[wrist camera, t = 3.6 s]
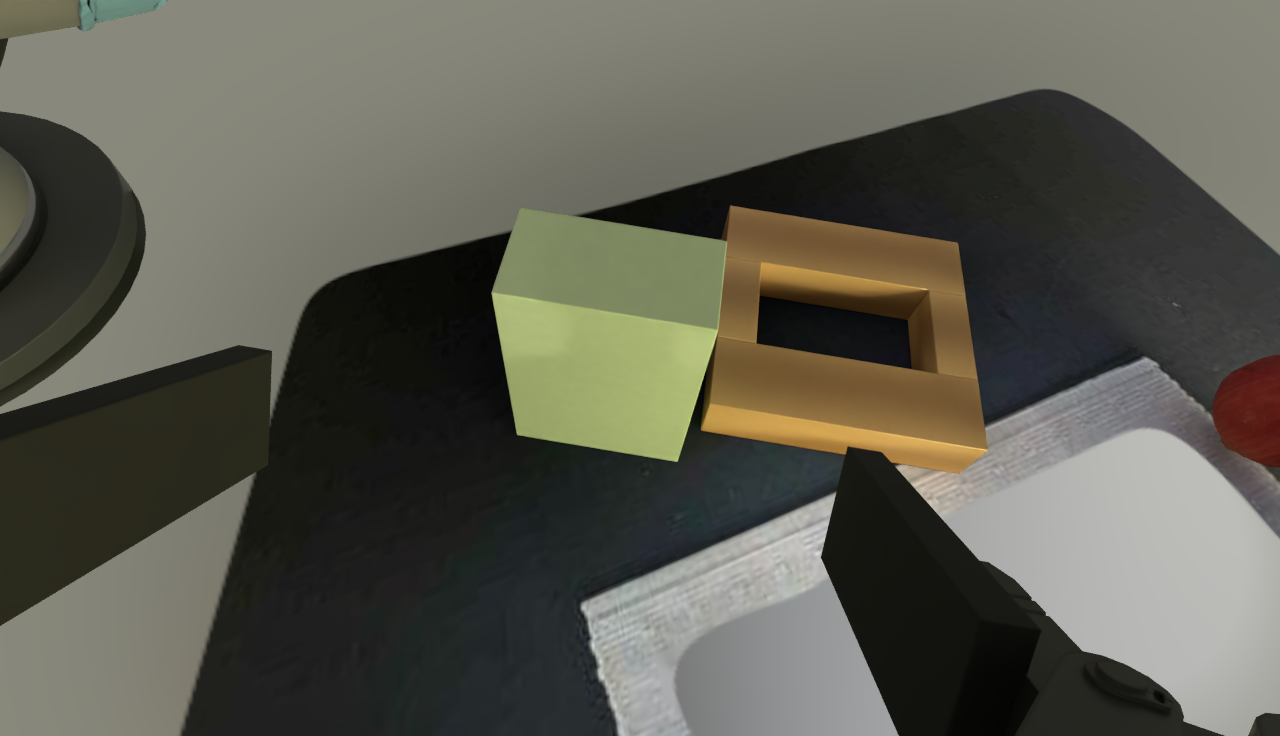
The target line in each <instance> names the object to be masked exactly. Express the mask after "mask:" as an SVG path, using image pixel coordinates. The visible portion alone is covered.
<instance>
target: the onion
mask: <svg viewBox="0 0 1280 736" xmlns="http://www.w3.org/2000/svg"><path fill="white" fill-rule="evenodd" d="M1212 409H1213V419H1214V424H1215V427H1216V429H1217V431H1218V433H1219V435H1220V438H1221V442H1222V443H1223V445H1224V446H1225V447H1226V448H1227V449H1229V450H1232V451H1235V452H1237V453H1239V454H1240V455H1241V456H1243V457H1246V458H1248V459H1250V460H1253V461H1255V462H1257V463H1260V464H1263V465H1266V466H1269V467H1280V355H1274V356H1270V357H1266V358H1262V359H1259V360H1257V361H1255V362H1252V363H1250V364H1248V365H1246V366H1243V367H1241V368H1239V369H1237V370H1235V371H1233V372H1231V373H1230V374H1229V375H1228V376H1227V377H1226V378H1225V379H1224V380H1223V381H1222V382H1221V384H1220V386H1219V388H1218V391H1217V393H1216V395H1215V398H1214V401H1213V405H1212Z"/></svg>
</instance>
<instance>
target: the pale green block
mask: <svg viewBox="0 0 1280 736" xmlns="http://www.w3.org/2000/svg"><path fill="white" fill-rule="evenodd" d="M726 250H727V241H723V240H717V239H711V238H704V237H698V236H692V235H686V234H680V233H674V232H668V231H662V230H656V229H650V228H643V227H637V226H631V225H625V224H619V223H613V222H607V221H601V220H595V219H589V218H583V217H576V216H570V215H564V214H558V213H552V212H546V211H539V210H534V209H527V208H520V210H519V213H518V216H517V219H516V222H515V225H514V228H513V231H512V234H511V236H510V239H509V242H508V245H507V248H506V251H505V254H504V257H503V260H502V263H501V266H500V269H499V272H498V275H497V278H496V281H495V284H494V287H493V290H492V298H493V304H494V309H495V315H496V321H497V326H498V332H499V337H500V343H501V348H502V354H503V360H504V365H505V371H506V376H507V382H508V387H509V393H510V399H511V404H512V410H513V415H514V421H515V426H516V432H517V435H520V436H526V437H532V438H538V439H544V440H550V441H556V442H562V443H568V444H574V445H580V446H586V447H592V448H598V449H604V450H610V451H616V452H622V453H628V454H634V455H640V456H645V457H651V458H657V459H663V460H669V461H675V462H677V461H678V459H679V455H680V452H681V449H682V446H683V442H684V439H685V436H686V433H687V429H688V426H689V423H690V420H691V417H692V413H693V410H694V407H695V404H696V400H697V397H698V394H699V391H700V388H701V384H702V381H703V378H704V375H705V371H706V368H707V365H708V362H709V358H710V355H711V352H712V349H713V346H714V342H715V339H716V336H717V333H718V328H719V318H720V309H721V299H722V289H723V279H724V270H725V260H726Z"/></svg>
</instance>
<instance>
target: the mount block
mask: <svg viewBox="0 0 1280 736" xmlns="http://www.w3.org/2000/svg"><path fill="white" fill-rule="evenodd" d="M721 240H723V241H727V250H726V260H725V270H724V279H723V289H722V299H721V309H720V318H719V328H718V333H717V336H716V339H715V342H714V346H713V349H712V352H711V355H710V358H709V362H708V366H707V375H706V384H705V393H704V402H703V411H702V420H701V431H707V432H713V433H719V434H725V435H731V436H737V437H743V438H749V439H755V440H761V441H767V442H773V443H779V444H785V445H791V446H797V447H803V448H809V449H815V450H821V451H827V452H833V453H839V454H845V455H846V451H847V447H848V446H849V447H855V448H861V449H867V450H873V451H879V452H882V453H883V454H884V455H885V456H886V457H887V458H888V460H889V461H890V462H892V463H898V464H904V465H910V466H916V467H922V468H928V469H934V470H940V471H946V472H952V473H961V472H962V471H963V470H964V469H965V468H967V467H968V466H969V465H970V464H972V463H973V462H974V461H975V460H977V459H978V458H979V457H980V456H982V455H983V454H984V453H985V452H987V451H988V447H987V440H986V433H985V426H984V420H983V413H982V406H981V399H980V392H979V385H978V380H977V373H976V366H975V359H974V352H973V345H972V338H971V331H970V324H969V317H968V311H967V304H966V297H965V288H964V282H963V275H962V268H961V261H960V254H959V247H958V243H956V242H950V241H944V240H937V239H931V238H925V237H919V236H913V235H907V234H901V233H895V232H888V231H882V230H876V229H870V228H864V227H858V226H852V225H846V224H839V223H833V222H827V221H821V220H815V219H809V218H803V217H797V216H790V215H784V214H778V213H772V212H766V211H760V210H754V209H748V208H742V207H735V206H730V208H729V212H728V216H727V220H726V223H725V227H724V231H723V235H722V239H721ZM759 296H765V297H772V298H778V299H784V300H790V301H796V302H802V303H808V304H814V305H820V306H826V307H832V308H838V309H844V310H850V311H856V312H863V313H869V314H875V315H881V316H887V317H893V318H899V319H905V320H908V331H909V342H910V354H911V366H912V369H907V368H901V367H895V366H889V365H883V364H877V363H871V362H865V361H859V360H853V359H846V358H840V357H834V356H828V355H822V354H816V353H810V352H804V351H798V350H792V349H786V348H780V347H774V346H768V345H762V344H756V340H757V325H758V309H759Z"/></svg>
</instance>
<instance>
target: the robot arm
mask: <svg viewBox="0 0 1280 736" xmlns="http://www.w3.org/2000/svg"><path fill="white" fill-rule="evenodd" d="M167 1H168V0H0V66H1V63H2V60H3V57H4V53H5V50H6V46H7V42H8V38H10V37H16V36H22V35H28V34H34V33H40V32H46V31H52V30H58V29H63V28H70V27H76V26H77V27H78V28H79V29H80V30H81V31H88V30H90V29H92V28H93V27H94V26H95V24H96V23H100V22H104V21H109V20H113V19H118V18H123V17H127V16H132V15H137V14H141V13H146V12H150V11H153V10H156V9H157V8H159V7H161V6H163V5H164V4H165V3H166V2H167ZM46 221H47V205H46V200H45V197H44V194H43V192H42V190H41V188H40V186H39V185H38V184H37V182H36V181H35V180H34V179H33V177H32V176H31V175H30V174H29V173H28V172H27V171H26V170H25V169H24V168H23V166H22V165H21V164H20V163H19V162H18V161H17V160H16V159H15V158H14V157H13V156H12V155H11V154H10V153H8V152H7V151H5V150H4V149H3V148H1V147H0V292H1V291H2V290H3V289H4V288H5V287H6V286H7V285H8V284H9V283H11V282H12V281H13V280H14V279H15V277H16V276H17V275H18V274H19V273H20V272H21V271H22V270H23V268H24V267H25V266H26V264H27V263H28V262H29V260H30V259H31V258H32V256H33V254H34V253H35V251H36V249H37V248H38V246H39V243H40V241H41V239H42V237H43V234H44V230H45V227H46ZM271 363H272V351H269V350H263V349H258V348H252V347H246V346H240V345H239V346H235V347H231V348H228V349H224V350H221V351H218V352H214V353H211V354H207V355H204V356H200V357H197V358H193V359H190V360H186V361H183V362H180V363H176V364H172V365H169V366H165V367H162V368H159V369H155V370H152V371H148V372H145V373H141V374H138V375H134V376H131V377H127V378H124V379H121V380H117V381H113V382H110V383H107V384H103V385H100V386H96V387H93V388H89V389H86V390H82V391H79V392H75V393H72V394H68V395H65V396H62V397H58V398H54V399H51V400H48V401H44V402H41V403H37V404H34V405H30V406H27V407H23V408H20V409H17V410H13V411H9V412H6V413H2V414H0V626H1V625H2V624H4V623H6V622H7V621H9V620H11V619H12V618H14V617H16V616H17V615H19V614H21V613H22V612H24V611H26V610H27V609H29V608H31V607H32V606H34V605H35V604H37V603H39V602H41V601H42V600H44V599H46V598H47V597H49V596H50V595H52V594H54V593H56V592H57V591H58V590H60V589H62V588H64V587H65V586H67V585H69V584H70V583H72V582H74V581H75V580H77V579H79V578H80V577H82V576H84V575H85V574H87V573H89V572H90V571H92V570H94V569H95V568H97V567H99V566H100V565H102V564H104V563H105V562H107V561H108V560H110V559H112V558H113V557H115V556H117V555H119V554H120V553H122V552H124V551H125V550H127V549H129V548H130V547H132V546H134V545H135V544H137V543H138V542H140V541H142V540H143V539H145V538H147V537H148V536H150V535H152V534H153V533H155V532H157V531H158V530H160V529H162V528H163V527H165V526H167V525H168V524H170V523H172V522H173V521H175V520H176V519H178V518H180V517H182V516H183V515H185V514H186V513H188V512H190V511H191V510H193V509H195V508H197V507H198V506H200V505H201V504H203V503H205V502H207V501H208V500H210V499H211V498H213V497H215V496H216V495H218V494H220V493H221V492H223V491H225V490H226V489H228V488H230V487H231V486H233V485H235V484H236V483H238V482H239V481H241V480H243V479H245V478H246V477H248V476H250V475H251V474H253V473H255V472H256V471H258V470H260V469H261V468H263V467H265V466H266V465H268V450H269V421H270V392H271ZM821 559H822V561H823V563H824V565H825V568H826V570H827V572H828V575H829V577H830V579H831V581H832V584H833V586H834V588H835V591H836V593H837V595H838V598H839V600H840V602H841V604H842V607H843V609H844V611H845V613H846V616H847V618H848V620H849V623H850V625H851V627H852V630H853V632H854V634H855V636H856V639H857V641H858V643H859V646H860V648H861V650H862V652H863V655H864V657H865V659H866V661H867V664H868V666H869V668H870V671H871V673H872V675H873V677H874V680H875V682H876V684H877V687H878V689H879V691H880V694H881V696H882V698H883V701H884V703H885V705H886V707H887V710H888V712H889V714H890V717H891V719H892V721H893V723H894V726H895V728H896V730H897V733H898V735H899V736H1224V735H1221V734H1218V733H1215V732H1212V731H1209V730H1206V729H1203V728H1200V727H1197V726H1195V725H1192V724H1189V723H1186V722H1184V721H1183V718H1184V716H1183V712H1182V709H1181V706H1180V704H1179V703H1178V702H1177V701H1176V700H1175V699H1174V697H1172V695H1171V694H1170V693H1169V692H1168V691H1167V690H1166V689H1164V688H1163V687H1161V686H1160V685H1159V684H1157V683H1156V682H1154V681H1153V680H1152V679H1151V678H1149V677H1148V676H1145V675H1144V674H1142V673H1140V672H1138V671H1136V670H1135V669H1133V668H1131V667H1129V666H1127V665H1125V664H1123V663H1120V662H1117V661H1115V660H1112V659H1110V658H1107V657H1105V656H1101V655H1097V654H1093V653H1088V652H1083V651H1082V650H1081V649H1080V648H1079V647H1078V646H1077V645H1076V644H1075V643H1074V642H1073V641H1072V640H1071V639H1070V638H1069V637H1068V636H1067V634H1066V633H1065V632H1064V631H1063V630H1062V629H1061V628H1060V627H1059V626H1058V625H1057V624H1056V623H1055V622H1054V621H1053V620H1052V619H1051V618H1050V617H1049V616H1046V612H1045V611H1044V610H1043V609H1042V608H1041V607H1040V606H1039V605H1038V604H1037V603H1036V602H1035V601H1032V600H1031V597H1030V596H1029V594H1028V593H1027V592H1026V591H1025V590H1024V589H1023V588H1022V587H1021V586H1020V585H1019V584H1018V583H1017V582H1016V581H1015V580H1014V579H1013V578H1011V577H1010V576H1008V575H1007V574H1005V573H1004V572H1002V571H1001V570H999V569H998V568H996V567H995V566H993V565H991V564H990V563H989V562H983V561H979V560H978V559H977V558H976V557H975V555H974V554H973V553H972V552H971V551H970V550H969V549H968V548H967V546H966V545H965V544H964V543H963V542H962V541H961V540H960V539H959V538H958V536H957V535H956V534H955V533H954V532H953V531H952V530H951V529H950V528H949V527H948V525H947V524H946V523H945V522H944V521H943V520H942V519H941V518H940V516H939V515H938V514H937V513H936V512H935V511H934V510H933V509H932V507H931V506H930V505H929V504H928V503H927V502H926V501H925V500H924V499H923V497H922V496H921V495H920V494H919V493H918V492H917V491H916V490H915V489H914V487H913V486H912V485H911V484H910V483H909V482H908V481H907V480H906V478H905V477H904V476H903V475H902V474H901V473H900V472H899V471H898V470H897V468H896V467H895V466H894V465H893V464H892V463H891V462H890V461H889V460H888V458H887V457H886V456H885V455H884V454H883V453H882V452H879V451H873V450H867V449H861V448H855V447H849V446H848V447H847V451H846V455H845V459H844V463H843V468H842V472H841V476H840V480H839V484H838V488H837V493H836V497H835V501H834V505H833V509H832V513H831V518H830V522H829V526H828V530H827V534H826V538H825V543H824V547H823V551H822V555H821ZM1248 736H1280V714H1271V713H1265V714H1262V715H1260V716H1258V717H1256V719H1255V721H1254V724H1253V726H1252V729H1251V731H1250V733H1249V735H1248Z"/></svg>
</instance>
